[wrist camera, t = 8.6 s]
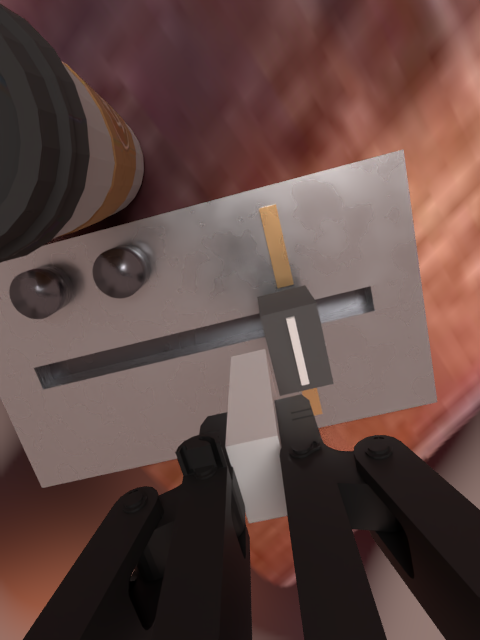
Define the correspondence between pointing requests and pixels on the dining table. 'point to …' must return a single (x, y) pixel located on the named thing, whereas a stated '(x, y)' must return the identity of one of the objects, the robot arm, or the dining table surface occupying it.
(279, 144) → the dining table surface
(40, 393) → the console
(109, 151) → the coffee cup
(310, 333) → the fader
